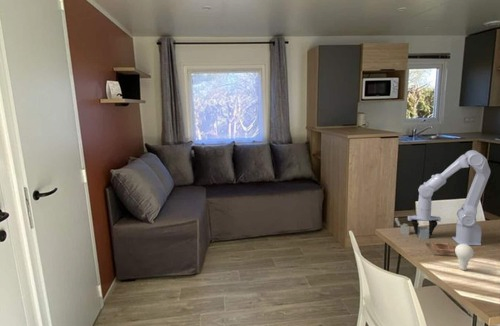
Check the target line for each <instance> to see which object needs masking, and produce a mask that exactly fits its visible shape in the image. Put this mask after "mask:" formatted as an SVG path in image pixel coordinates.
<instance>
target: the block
mask: <svg viewBox="0 0 500 326" xmlns="http://www.w3.org/2000/svg"><path fill="white" fill-rule="evenodd" d="M417 237H418V238H419V239H423V238H424V239H427V240H429V239H430V234H429V227H427V226H425V227H424V226H418V235H417Z"/></svg>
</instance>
